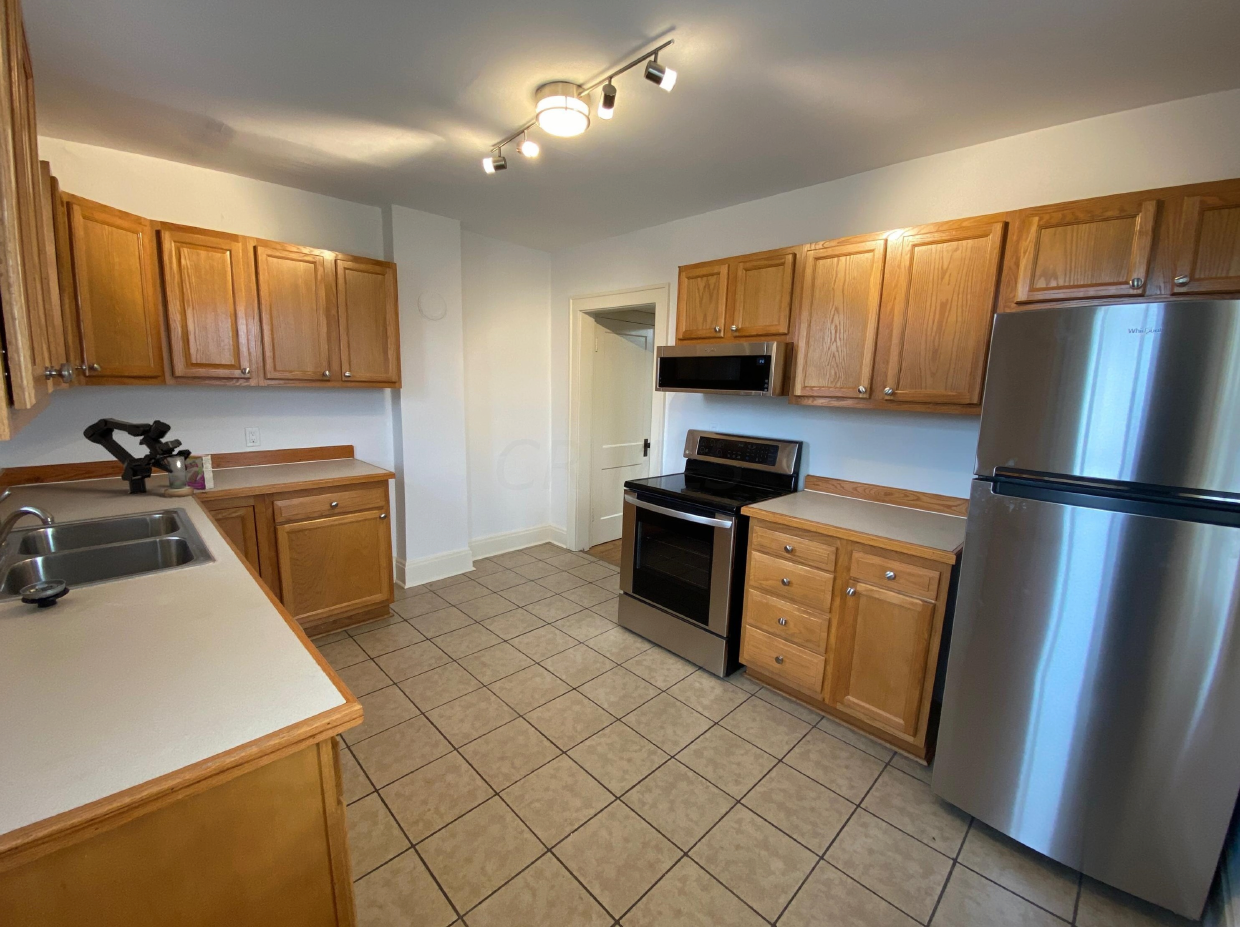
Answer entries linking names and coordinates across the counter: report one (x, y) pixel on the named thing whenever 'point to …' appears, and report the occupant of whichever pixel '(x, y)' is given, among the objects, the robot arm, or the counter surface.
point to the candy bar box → (199, 472)
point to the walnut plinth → (179, 492)
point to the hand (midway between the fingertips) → (179, 471)
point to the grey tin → (176, 471)
